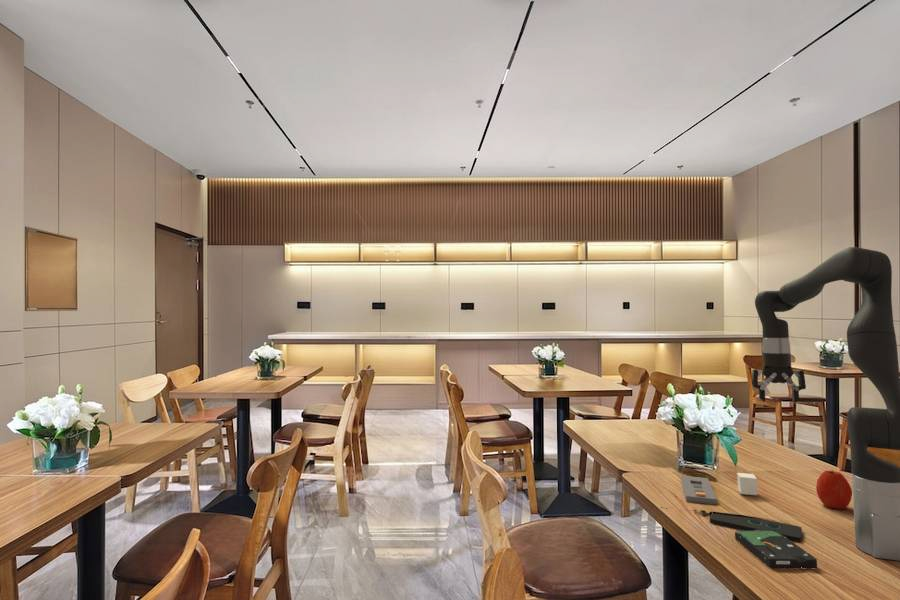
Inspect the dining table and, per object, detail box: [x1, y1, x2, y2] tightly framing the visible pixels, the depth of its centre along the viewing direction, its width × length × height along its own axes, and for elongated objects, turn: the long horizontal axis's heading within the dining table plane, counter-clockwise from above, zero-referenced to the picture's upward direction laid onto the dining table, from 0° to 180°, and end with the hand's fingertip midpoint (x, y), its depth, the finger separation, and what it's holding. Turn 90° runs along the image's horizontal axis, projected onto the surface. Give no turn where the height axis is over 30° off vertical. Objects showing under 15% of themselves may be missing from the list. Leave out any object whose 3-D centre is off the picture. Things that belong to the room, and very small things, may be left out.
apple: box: [815, 470, 853, 510], centre depth 138 cm, size 8×8×11 cm
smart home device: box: [709, 511, 803, 543], centre depth 125 cm, size 8×2×20 cm
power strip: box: [680, 475, 718, 517], centre depth 145 cm, size 26×8×4 cm, turn 158°
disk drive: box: [734, 529, 818, 569], centre depth 112 cm, size 10×3×15 cm
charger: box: [736, 472, 759, 496], centre depth 146 cm, size 4×4×6 cm
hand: (779, 401), depth 153 cm, fingers open, 8 cm apart
